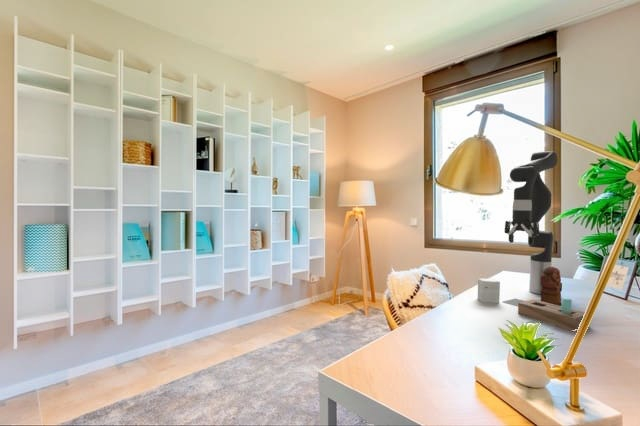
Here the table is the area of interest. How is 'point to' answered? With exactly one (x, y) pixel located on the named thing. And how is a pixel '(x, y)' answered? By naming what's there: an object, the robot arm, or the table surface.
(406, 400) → the table surface
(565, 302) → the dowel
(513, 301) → the mat
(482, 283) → the small box
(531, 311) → the socket block
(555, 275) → the wooden figurine
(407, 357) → the table surface
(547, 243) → the robot arm
